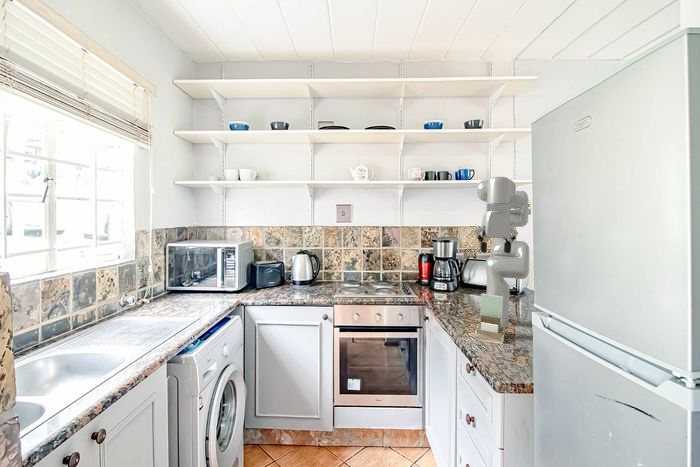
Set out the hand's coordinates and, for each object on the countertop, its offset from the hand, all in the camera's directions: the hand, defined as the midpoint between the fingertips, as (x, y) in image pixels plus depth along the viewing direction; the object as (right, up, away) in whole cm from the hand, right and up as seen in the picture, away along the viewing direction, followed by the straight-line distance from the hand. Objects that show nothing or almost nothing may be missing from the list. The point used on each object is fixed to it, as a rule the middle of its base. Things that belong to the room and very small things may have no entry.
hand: (495, 252), depth 120 cm
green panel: (0, -34, +4) cm, 34 cm away
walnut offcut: (-2, -34, +1) cm, 34 cm away
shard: (-2, -35, +21) cm, 41 cm away
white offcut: (-3, -34, -1) cm, 34 cm away
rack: (-1, -35, +2) cm, 35 cm away
